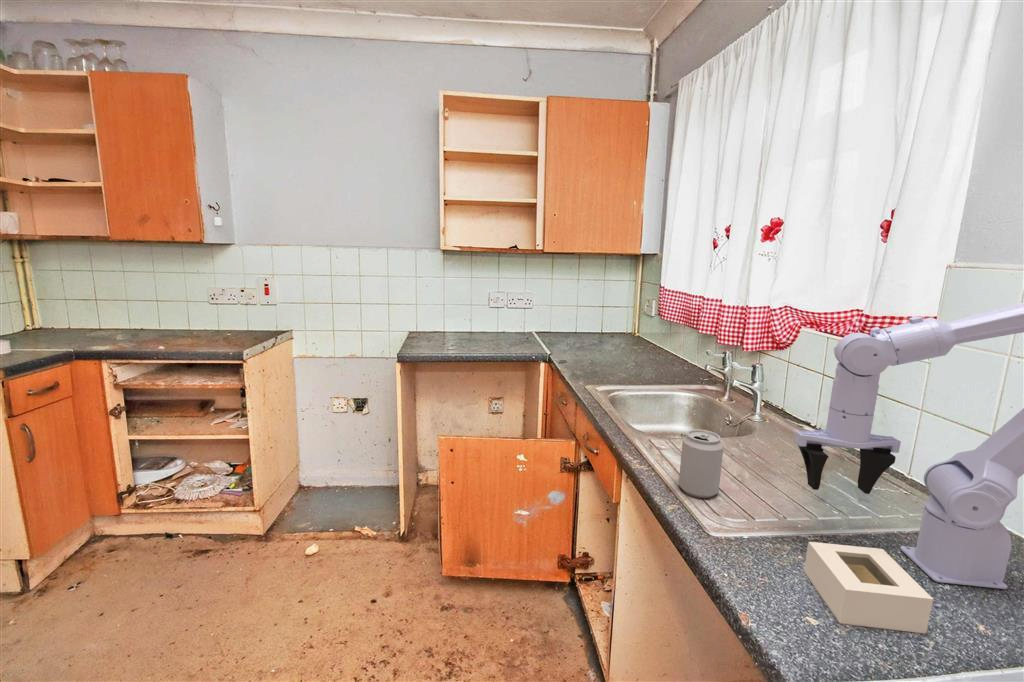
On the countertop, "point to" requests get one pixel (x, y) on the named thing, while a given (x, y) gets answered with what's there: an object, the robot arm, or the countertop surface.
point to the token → (863, 574)
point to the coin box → (867, 588)
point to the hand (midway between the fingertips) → (838, 488)
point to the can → (701, 463)
